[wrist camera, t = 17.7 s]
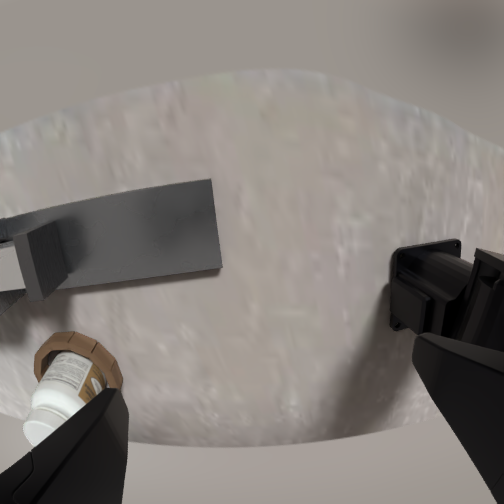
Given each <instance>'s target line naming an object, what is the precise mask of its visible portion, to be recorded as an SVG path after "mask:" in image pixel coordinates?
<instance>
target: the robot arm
mask: <svg viewBox="0 0 504 504" xmlns="http://www.w3.org/2000/svg"><path fill="white" fill-rule="evenodd" d="M455 244H456V246H455ZM401 253H402V257H401V258H400V254H401ZM460 257H461V241H460V240H458V239H449V240H443V241H437V242H431V243H425V244H419V245H413V246H407V247H401V248H398V249H397V250H396V251H395V253H394V266H393V280H392V286H391V303H390V311H391V317H390V327H391V328H392V329H393V330H394V331H399V330H402V329H406V328H410V329H411V330H412V331H413V332H415V333H416V334H417V335H418V336H416V338H415V341H414V348H413V354H412V362H413V365H414V367H415V368H416V370H417V372H418V374H419V376H420V378H421V380H422V381H423V383H424V385H425V387H426V389H427V391H428V393H429V395H430V396H431V398H432V400H433V401H434V403H435V404H436V406H437V407H438V409H439V410H440V412H441V413H442V415H443V416H444V418H445V419H446V421H447V422H448V424H449V425H450V427H451V428H452V430H453V432H454V433H455V435H456V436H457V438H458V439H459V441H460V442H461V444H462V446H463V447H464V449H465V450H466V452H467V453H468V455H469V457H470V458H471V460H472V461H473V463H474V465H475V466H476V468H477V470H478V471H479V473H480V475H481V476H482V478H483V480H484V481H485V483H486V484H487V486H488V488H489V490H491V493H492V495H493V497H494V499H495V500H496V502H497V504H504V255H503V254H499V253H495V252H491V251H487V250H483V249H479V248H476V251H475V255H474V257H475V260H474V264H472V263H469V262H467V261H465V260H463V259H461V258H460ZM396 323H398V324H397V325H396V326H395V324H396ZM128 424H129V412H128V408H127V406H126V403H125V401H124V399H123V396H122V394H121V392H120V390H119V389H118V388H105V389H103V390H102V391H101V392H100V393H99V394H97V395H96V396H95V397H94V398H93V399H92V400H90V401H89V402H88V403H87V404H86V405H84V406H83V407H82V408H81V409H80V410H78V411H77V412H76V413H75V414H74V415H73V416H71V417H70V418H69V419H68V420H67V421H65V422H64V423H63V424H62V425H61V426H59V427H58V428H57V429H56V430H55V431H53V432H52V433H51V434H50V435H49V436H47V437H46V438H45V439H44V440H43V441H41V442H40V443H39V444H38V445H37V446H35V447H34V448H33V449H32V450H31V452H28V453H27V454H26V455H25V456H23V457H22V458H21V459H20V460H18V461H17V462H16V463H15V464H13V465H12V466H11V467H9V468H8V469H7V470H5V471H4V472H2V473H1V474H0V504H122V495H123V488H124V480H125V472H126V465H127V455H128Z"/></svg>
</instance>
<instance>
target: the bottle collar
mask: <svg viewBox="0 0 504 504" xmlns="http://www.w3.org/2000/svg"><path fill="white" fill-rule="evenodd" d="M51 350H71V351H73V352H76V353H78V354H80V355H83V356H85V357H87V358H89V359H90V360H91V361H92V362H93V363H94V364H95V365H96V366H97V367H98V368H99V369H100V370H101V371H102V372H103V373H104V374H105V377H106V379H107V382H108V384H109V387H110V388H118V389H119V390H120V389H121V385H122V381H123V377H122V375H121V372H120V369H119V366H118V364H117V361H116V360H115V358H114V357H113V356H112V355H111V354H110V353H109V352H108V351H107V350H106V349H105V348H104V347H103V346H102V345H101V344H100V343H99V342H98V343H97V341H96V340H94V339H92V338H89V337H87V336H85V335H82V334H80V333H78V332H75V331H74V332H59V333H54V334H53V335H52V336H51V337H50V338H49V339H48V340H47V341H46V342H45V343H44V344H43V345H42V346H41V347H40V349H39V350H38V351H37V352H36V354H35V359H34V374H35V376H36V378H37V380H38V382H40V381H41V379H42V378H43V376H44V374H45V373H46V371H47V370H48V368H49V366H48V354H49V352H50V351H51Z"/></svg>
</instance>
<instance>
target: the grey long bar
mask: <svg viewBox="0 0 504 504" xmlns="http://www.w3.org/2000/svg"><path fill="white" fill-rule="evenodd" d="M67 278H68V274H67V270H66V266H65V262H64V258H63V254H62V250H61V245H60V241H59V236H58V231H57V226H56V221H51V222H46V223H42V224H40V225H37V226H35V227H33V228H30V229H28V230H26V231H23V232H21V233H19V234H17V235H14V236H13V241H10V242H5V243H1V244H0V291H7V290H15V289H23V288H26V291H27V294H28V297H29V300H30V302H32V301H42V300H45V299H46V298H47V297H48V296H49V295H50V294H51V293H52V292H53V291H54V290H55V289H56V288H57V287H59V286H60V285H61V284H62V283H63V282H64V281H65V280H66V279H67Z"/></svg>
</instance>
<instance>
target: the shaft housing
mask: <svg viewBox="0 0 504 504" xmlns="http://www.w3.org/2000/svg"><path fill="white" fill-rule="evenodd" d="M51 221H56V226H57V231H58V236H59V241H60V245H61V250H62V254H63V258H64V262H65V266H66V270H67V274H68V278H67V279H66V280H65V281H64V282H63V283H62V284H61V285H60V286H59V287H57V288H56V289H55V290H57V289H65V288H73V287H80V286H88V285H96V284H104V283H112V282H119V281H127V280H134V279H142V278H150V277H157V276H164V275H172V274H179V273H187V272H194V271H201V270H208V269H216V268H223V266H222V259H221V252H220V244H219V237H218V229H217V222H216V214H215V206H214V198H213V190H212V182H211V178H210V179H203V180H196V181H189V182H182V183H175V184H169V185H162V186H156V187H150V188H144V189H139V190H133V191H127V192H122V193H116V194H111V195H106V196H101V197H96V198H91V199H86V200H81V201H76V202H72V203H67V204H63V205H58V206H54V207H50V208H45V209H41V210H37V211H33V212H29V213H25V214H21V215H17V216H13V217H9V218H1V219H0V244H1V243H5V242H10V241H13V236H14V235H17V234H19V233H21V232H23V231H26V230H28V229H30V228H33V227H35V226H37V225H40V224H42V223H46V222H51ZM24 293H27V291H26V288H23V289H15V290H7V291H0V315H1V314H2V313H3V312H5V311H6V310H7V309H8V308H9V307H10V306H11V305H13V304H14V303H15V302H16V301H17V300H19V299H20V298H21V297H22V296H23V295H24Z"/></svg>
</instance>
